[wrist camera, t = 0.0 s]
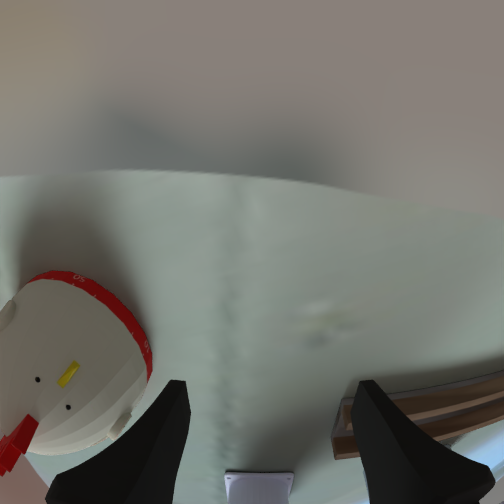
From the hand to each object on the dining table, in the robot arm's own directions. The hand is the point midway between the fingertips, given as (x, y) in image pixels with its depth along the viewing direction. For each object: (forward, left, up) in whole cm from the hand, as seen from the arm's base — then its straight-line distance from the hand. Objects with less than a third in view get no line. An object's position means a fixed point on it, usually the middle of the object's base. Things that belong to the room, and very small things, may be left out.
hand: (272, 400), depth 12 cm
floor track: (-14, -19, -10) cm, 26 cm away
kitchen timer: (-6, +16, -10) cm, 20 cm away
